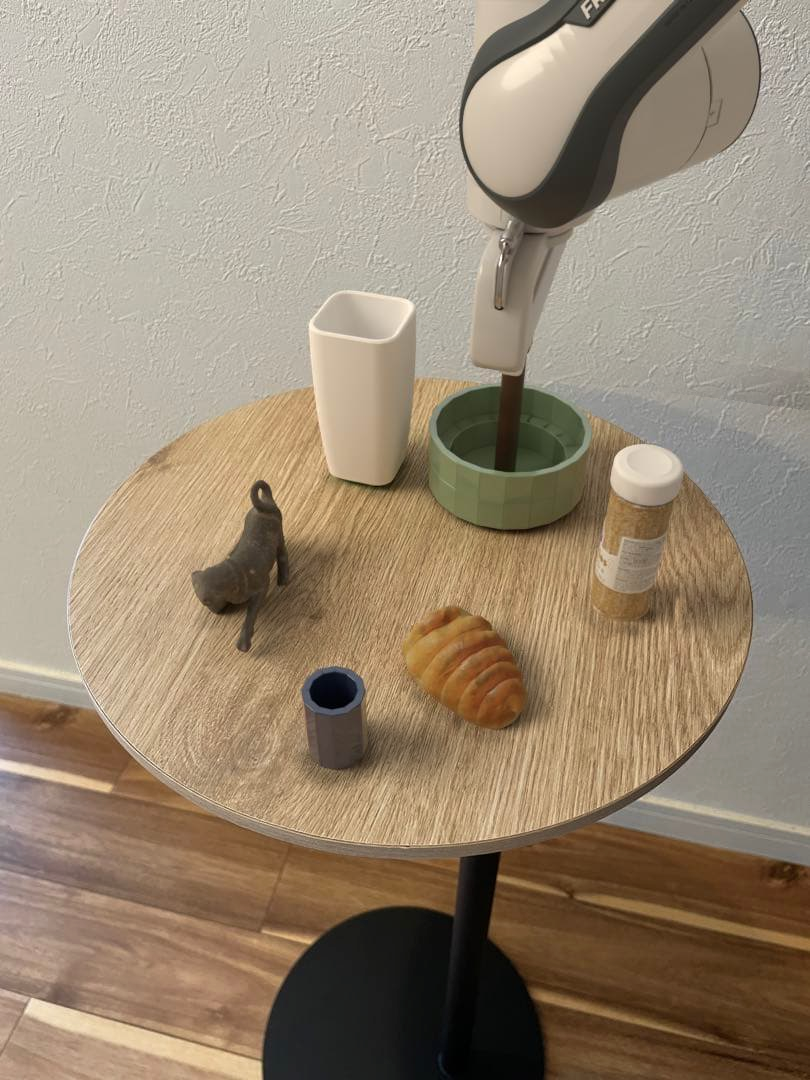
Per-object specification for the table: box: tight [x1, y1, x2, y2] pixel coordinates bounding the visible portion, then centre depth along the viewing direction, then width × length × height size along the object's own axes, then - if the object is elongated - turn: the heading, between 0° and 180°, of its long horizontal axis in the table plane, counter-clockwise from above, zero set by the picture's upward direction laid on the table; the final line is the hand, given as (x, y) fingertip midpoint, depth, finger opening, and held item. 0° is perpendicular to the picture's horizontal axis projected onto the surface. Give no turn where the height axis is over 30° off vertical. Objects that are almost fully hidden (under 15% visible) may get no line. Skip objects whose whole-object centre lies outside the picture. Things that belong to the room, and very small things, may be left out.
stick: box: [494, 354, 528, 472], centre depth 78 cm, size 2×2×14 cm
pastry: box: [401, 604, 529, 730], centre depth 65 cm, size 9×7×4 cm
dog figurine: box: [190, 479, 290, 653], centre depth 70 cm, size 12×6×7 cm, turn 166°
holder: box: [300, 665, 369, 770], centre depth 60 cm, size 4×4×6 cm
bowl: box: [427, 382, 594, 530], centre depth 81 cm, size 13×13×6 cm
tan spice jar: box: [588, 443, 684, 623], centre depth 68 cm, size 5×5×14 cm
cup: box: [308, 289, 417, 487], centre depth 80 cm, size 7×7×15 cm
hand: (515, 359), depth 75 cm, fingers closed on stick, 2 cm apart
